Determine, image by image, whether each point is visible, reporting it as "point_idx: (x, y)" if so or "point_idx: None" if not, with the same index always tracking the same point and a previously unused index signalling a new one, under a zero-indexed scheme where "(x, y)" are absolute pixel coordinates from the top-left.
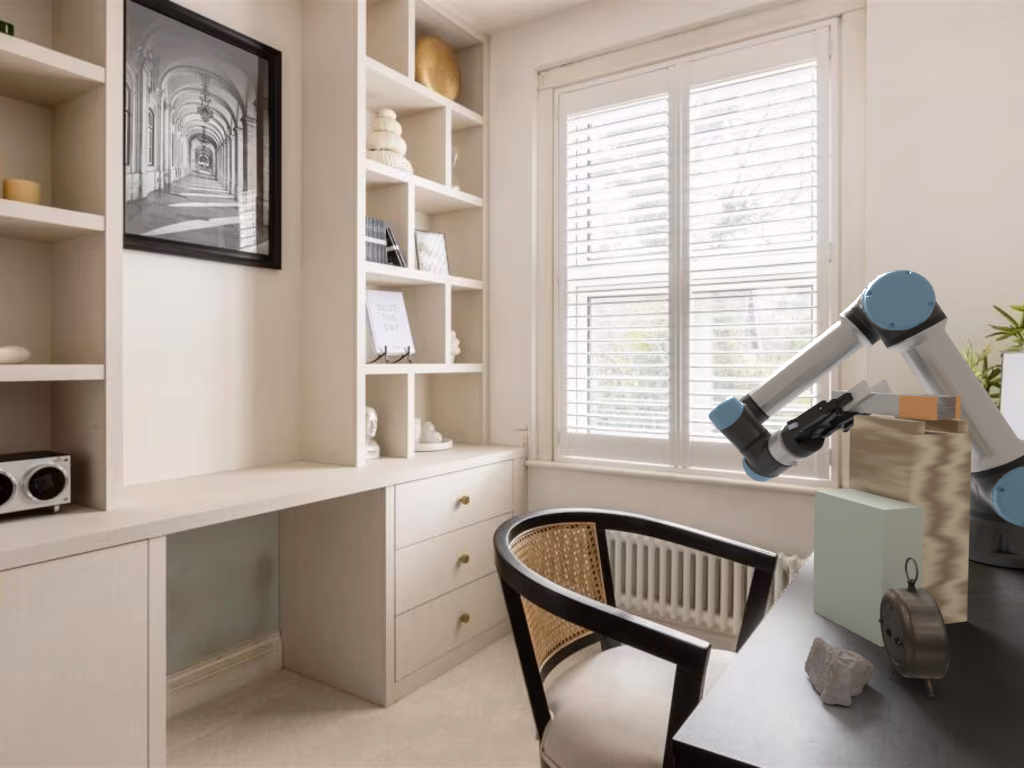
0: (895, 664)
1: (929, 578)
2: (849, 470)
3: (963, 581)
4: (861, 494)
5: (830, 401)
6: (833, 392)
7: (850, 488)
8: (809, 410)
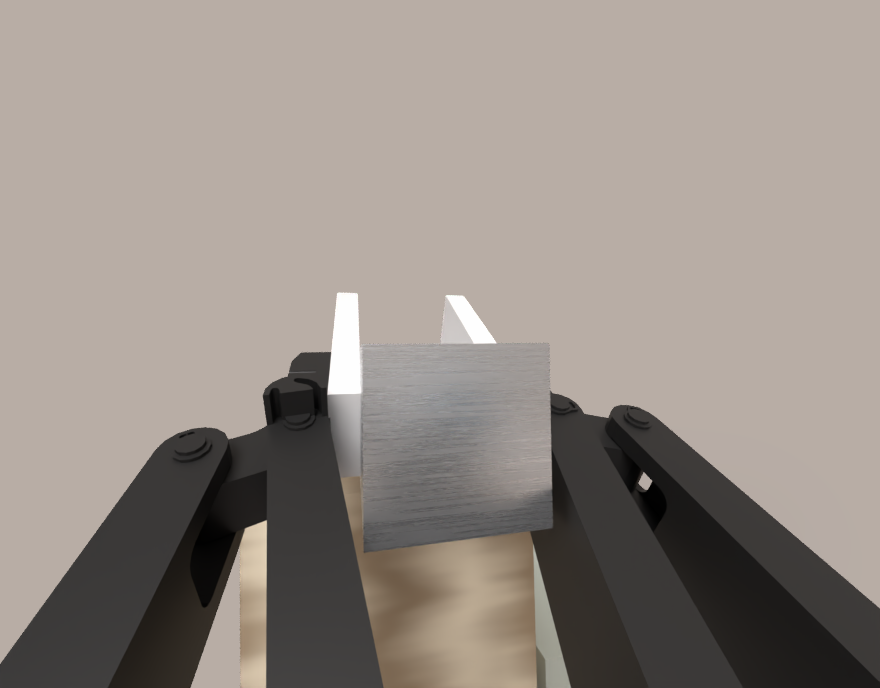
0: None
1: None
2: (534, 642)
3: None
4: (538, 597)
5: (579, 416)
6: (537, 357)
7: (545, 659)
8: (776, 537)
